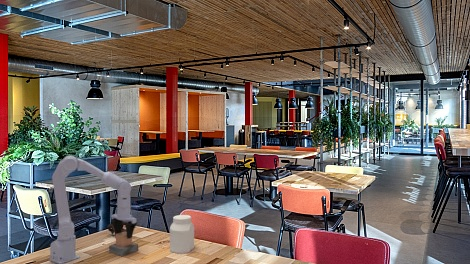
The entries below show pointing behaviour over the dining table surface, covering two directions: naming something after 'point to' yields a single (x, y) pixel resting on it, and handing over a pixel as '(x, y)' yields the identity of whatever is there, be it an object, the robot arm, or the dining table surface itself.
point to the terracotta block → (123, 239)
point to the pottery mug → (114, 229)
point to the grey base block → (123, 249)
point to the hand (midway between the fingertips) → (123, 236)
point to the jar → (181, 234)
